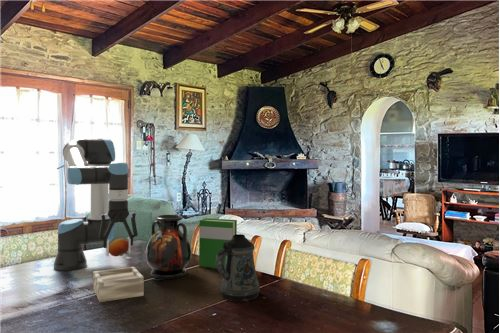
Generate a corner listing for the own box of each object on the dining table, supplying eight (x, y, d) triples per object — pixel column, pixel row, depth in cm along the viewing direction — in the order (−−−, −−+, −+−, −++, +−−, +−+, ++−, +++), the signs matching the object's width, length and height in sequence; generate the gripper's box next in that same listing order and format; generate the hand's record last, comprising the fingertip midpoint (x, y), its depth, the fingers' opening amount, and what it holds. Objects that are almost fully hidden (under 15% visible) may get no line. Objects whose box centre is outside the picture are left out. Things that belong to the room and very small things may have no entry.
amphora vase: (135, 278, 188) (136, 218, 187) (162, 266, 208) (162, 211, 207) (175, 284, 180) (176, 221, 179) (199, 271, 200) (200, 215, 199)
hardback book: (236, 265, 211) (236, 219, 210) (231, 269, 204) (232, 222, 203) (204, 263, 216) (204, 217, 215) (198, 266, 208) (199, 220, 207)
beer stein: (264, 291, 174) (265, 233, 173) (249, 307, 155) (250, 242, 154) (228, 286, 179) (229, 229, 178) (210, 301, 161) (211, 238, 160)
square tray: (93, 288, 173) (93, 271, 172) (134, 283, 181) (134, 266, 181) (99, 302, 158) (99, 283, 158) (143, 295, 166) (143, 277, 166)
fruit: (126, 254, 164) (117, 237, 164) (111, 263, 165) (102, 246, 166) (136, 250, 172) (127, 233, 172) (121, 258, 173) (112, 242, 174)
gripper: (93, 201, 160) (92, 259, 160) (146, 199, 170) (145, 253, 170) (90, 199, 166) (90, 255, 167) (141, 197, 176) (141, 249, 177)
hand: (118, 254), depth 169 cm, fingers closed on fruit, 8 cm apart
